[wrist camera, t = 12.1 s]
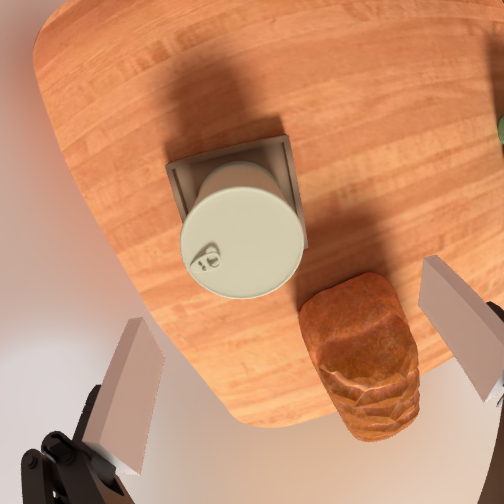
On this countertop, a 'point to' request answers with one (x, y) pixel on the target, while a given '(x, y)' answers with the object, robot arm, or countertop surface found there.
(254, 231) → the can
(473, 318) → the robot arm
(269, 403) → the countertop surface
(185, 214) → the tray
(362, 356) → the bread
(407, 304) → the countertop surface
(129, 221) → the countertop surface
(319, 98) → the countertop surface
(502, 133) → the mug
